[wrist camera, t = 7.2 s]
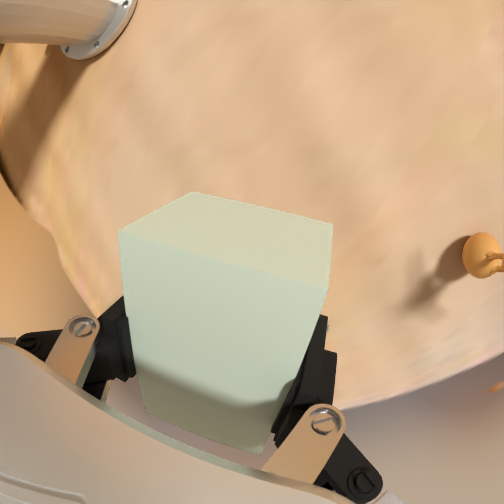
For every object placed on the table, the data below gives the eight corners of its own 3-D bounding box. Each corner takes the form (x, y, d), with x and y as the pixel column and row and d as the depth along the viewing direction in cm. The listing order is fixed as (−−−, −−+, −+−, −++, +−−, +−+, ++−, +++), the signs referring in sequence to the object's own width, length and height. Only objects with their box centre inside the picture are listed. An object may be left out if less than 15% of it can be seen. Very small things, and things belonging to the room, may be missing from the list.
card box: (192, 191, 11) (118, 231, 7) (333, 224, 10) (328, 289, 6) (185, 352, 15) (145, 412, 11) (281, 384, 14) (259, 455, 10)
